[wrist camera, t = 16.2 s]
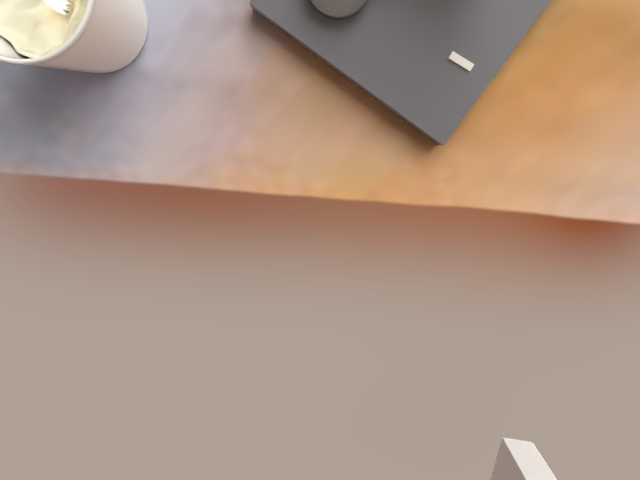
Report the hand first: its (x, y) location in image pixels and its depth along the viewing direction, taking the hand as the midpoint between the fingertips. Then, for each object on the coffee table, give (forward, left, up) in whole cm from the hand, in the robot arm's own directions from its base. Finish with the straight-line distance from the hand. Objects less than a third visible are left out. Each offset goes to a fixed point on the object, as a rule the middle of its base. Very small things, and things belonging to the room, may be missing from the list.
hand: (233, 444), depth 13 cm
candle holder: (-23, +4, -34) cm, 41 cm away
